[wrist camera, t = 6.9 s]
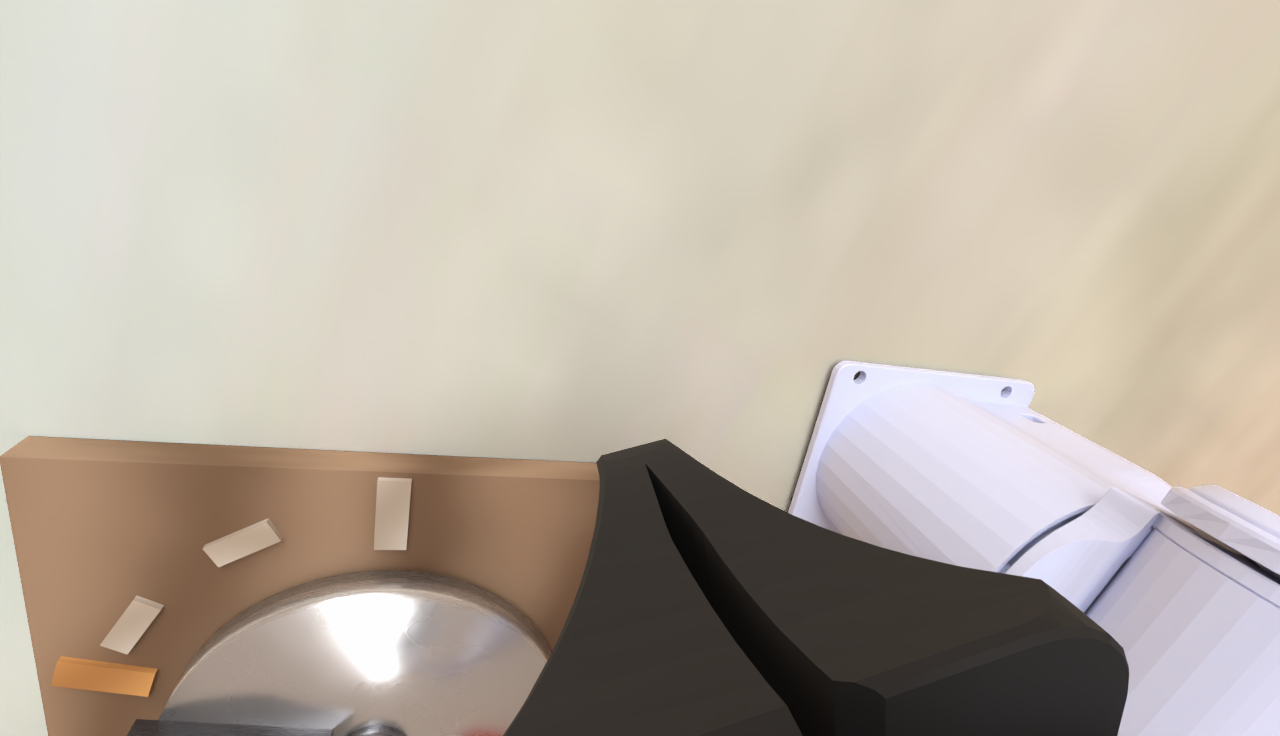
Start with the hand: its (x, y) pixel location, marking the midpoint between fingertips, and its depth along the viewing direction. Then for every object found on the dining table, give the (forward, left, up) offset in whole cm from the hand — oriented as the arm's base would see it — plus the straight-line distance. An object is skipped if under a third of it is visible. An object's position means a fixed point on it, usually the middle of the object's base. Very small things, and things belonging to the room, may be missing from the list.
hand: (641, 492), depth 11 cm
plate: (+5, +15, -10) cm, 19 cm away
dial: (+5, +15, -8) cm, 18 cm away
